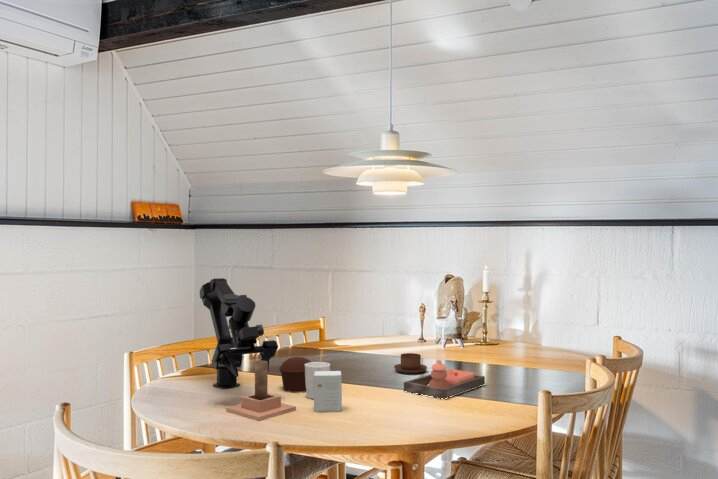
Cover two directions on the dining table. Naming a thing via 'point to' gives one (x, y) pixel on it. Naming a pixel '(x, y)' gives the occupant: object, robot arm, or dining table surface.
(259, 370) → the thick brown pillar
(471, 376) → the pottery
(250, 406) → the pink square stand base
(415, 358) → the cup and saucer
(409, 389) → the dark grey tray
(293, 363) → the muffin
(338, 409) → the small box
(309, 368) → the white cup
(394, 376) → the dining table surface
